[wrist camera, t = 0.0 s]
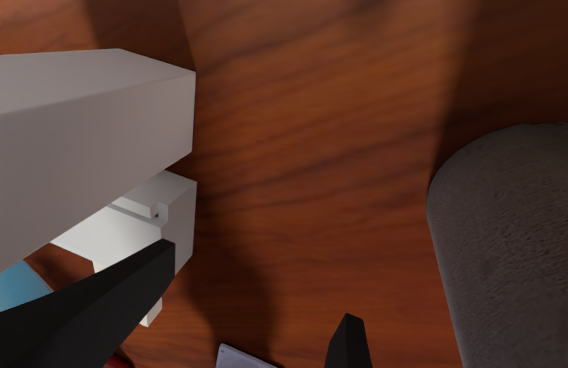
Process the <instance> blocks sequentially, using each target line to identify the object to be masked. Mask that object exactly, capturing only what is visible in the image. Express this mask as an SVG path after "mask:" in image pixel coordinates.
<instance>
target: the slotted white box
mask: <svg viewBox="0 0 568 368" xmlns="http://www.w3.org/2000/svg"><path fill="white" fill-rule="evenodd" d="M196 190H197V182H196V181H193V180H191V179H188V178H185V177H182V176H180V175H177V174H174V173H172V172H169V171H166V170H162V171H161V172H159V173H158V174H156V175H154V176H153V177H151V178H150V179H148V180H147V181H145V182H143V183H142V184H140V185H139V186H137V187H136V188H134V189H132V190H131V191H129V192H128V193H126V194H125V195H123V196H121V197H120V198H118V199H117V200H115V201H113V202H112V203H110V204H109V205H107V206H106V207H104V208H102V209H101V210H99V211H98V212H96V213H95V214H93V215H91V216H90V217H88V218H87V219H85V220H84V221H82V222H80V223H79V224H77V225H76V226H74V227H73V228H71V229H69V230H68V231H66V232H65V233H63V234H61V235H60V236H58V237H57V238H55V239H54V240H52V241H50V243H53V244H55V245H57V246H60V247H62V248H64V249H67V250H69V251H71V252H73V253H76V254H78V255H80V256H83V257H85V258H87V259H89V260H92V261H94V262H96V263H99V264H101V265H103V266H105V267H109V266H111V265H113V264H115V263H117V262H119V261H121V260H123V259H124V258H126V257H128V256H130V255H132V254H134V253H136V252H137V251H139V250H141V249H143V248H145V247H147V246H148V245H150V244H152V243H154V242H156V241H158V240H160V239H162V238H164V239H166V240H168V241H171V242H173V243H176V250H175V275H176V274H177V273H178V271H179V270H180V269H181V268H182V267H183V265H184V264H185V263H186V262H187V261H188V259H189V258H190V257H191V256H192V252H193V237H194V221H195V205H196ZM157 213H158V218H157V217H154V216H155V215H156V214H157Z"/></svg>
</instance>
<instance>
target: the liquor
mask: <svg viewBox="0 0 568 368" xmlns="http://www.w3.org/2000/svg"><path fill="white" fill-rule="evenodd" d="M103 368H131V366H130V365H129V364H128V363H127V362H126V361H125V360H123V359H122V358H120V357H118V356H116V355H112V356H111V357H110V359H109V360H108V361H107V363H106V364H105V365H104V367H103Z"/></svg>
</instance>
